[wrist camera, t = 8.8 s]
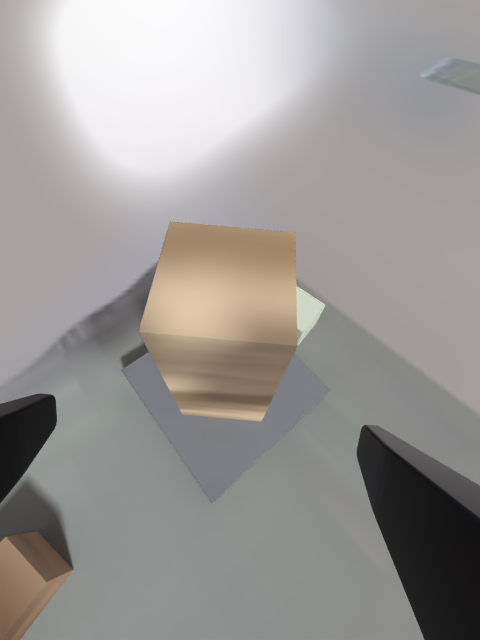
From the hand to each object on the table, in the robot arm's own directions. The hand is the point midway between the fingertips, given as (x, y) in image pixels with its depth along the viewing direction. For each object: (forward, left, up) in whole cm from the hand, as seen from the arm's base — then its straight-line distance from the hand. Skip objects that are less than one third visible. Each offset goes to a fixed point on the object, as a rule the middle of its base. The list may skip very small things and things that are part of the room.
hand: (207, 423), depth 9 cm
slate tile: (+4, +4, -12) cm, 13 cm away
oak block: (+4, +4, -10) cm, 11 cm away
